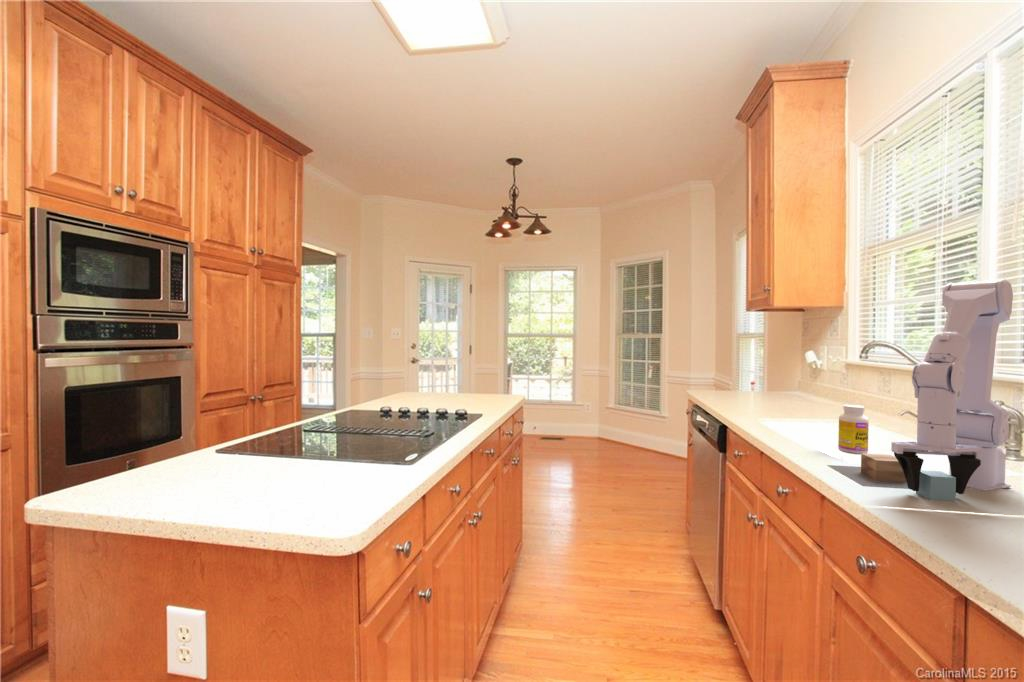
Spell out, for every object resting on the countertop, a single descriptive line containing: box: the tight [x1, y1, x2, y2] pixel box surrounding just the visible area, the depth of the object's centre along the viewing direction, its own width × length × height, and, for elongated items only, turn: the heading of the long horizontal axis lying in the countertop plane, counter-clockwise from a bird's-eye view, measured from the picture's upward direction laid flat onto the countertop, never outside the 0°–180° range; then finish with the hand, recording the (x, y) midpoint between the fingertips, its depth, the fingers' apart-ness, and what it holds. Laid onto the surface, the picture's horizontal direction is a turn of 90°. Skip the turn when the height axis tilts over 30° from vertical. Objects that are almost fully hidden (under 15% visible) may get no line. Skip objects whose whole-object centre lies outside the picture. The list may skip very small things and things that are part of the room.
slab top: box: [860, 453, 903, 472], centre depth 104 cm, size 6×6×2 cm
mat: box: [826, 464, 910, 490], centre depth 104 cm, size 16×16×1 cm
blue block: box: [915, 469, 957, 502], centre depth 92 cm, size 4×4×5 cm
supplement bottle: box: [837, 404, 870, 456], centre depth 128 cm, size 7×7×13 cm
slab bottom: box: [860, 462, 907, 482], centre depth 104 cm, size 6×6×2 cm
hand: (935, 491), depth 92 cm, fingers open, 7 cm apart
